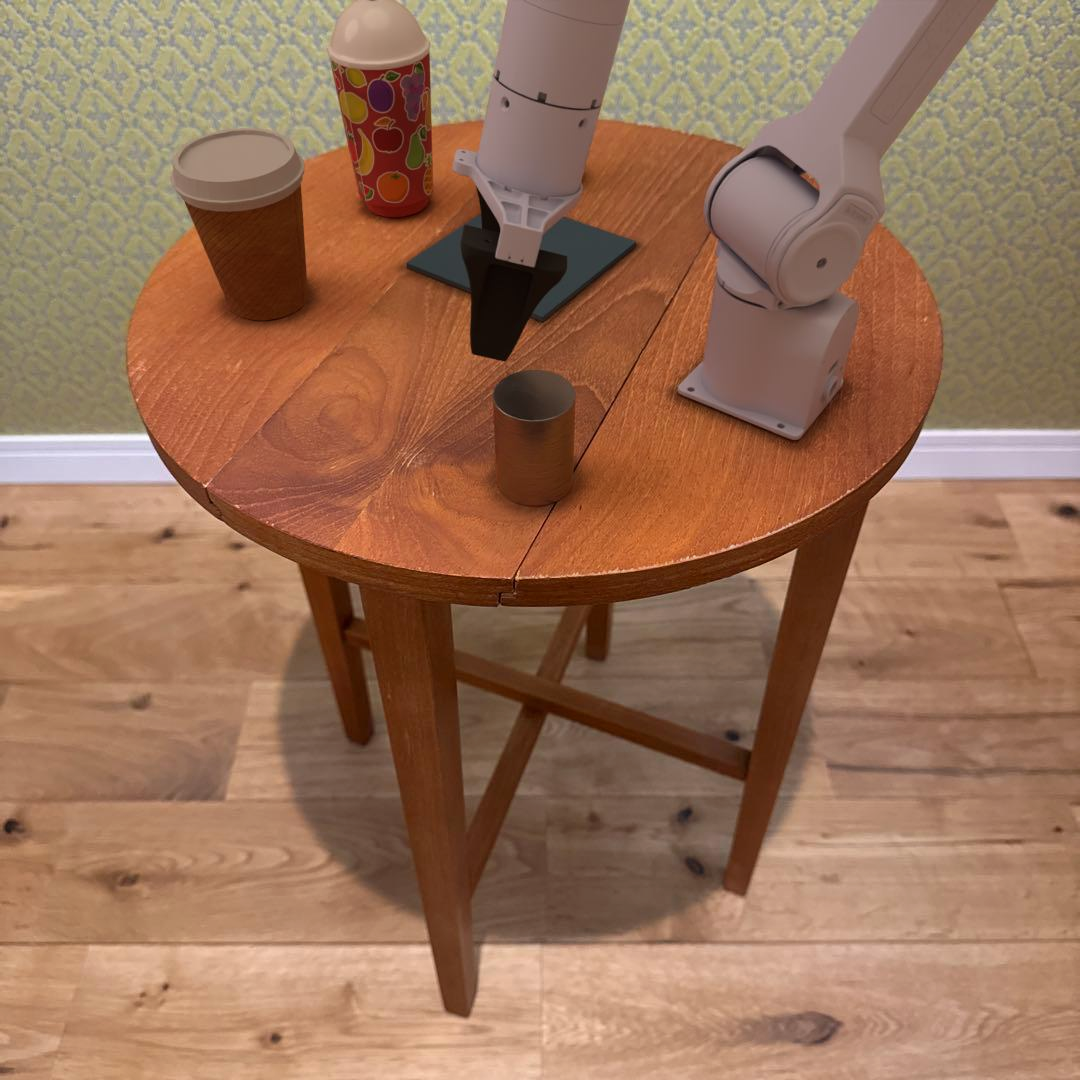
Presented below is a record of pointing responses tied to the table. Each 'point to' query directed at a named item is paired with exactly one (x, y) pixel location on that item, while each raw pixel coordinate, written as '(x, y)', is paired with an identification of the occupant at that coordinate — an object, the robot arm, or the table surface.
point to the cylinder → (534, 436)
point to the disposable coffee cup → (248, 216)
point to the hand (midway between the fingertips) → (493, 322)
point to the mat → (576, 240)
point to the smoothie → (385, 104)
